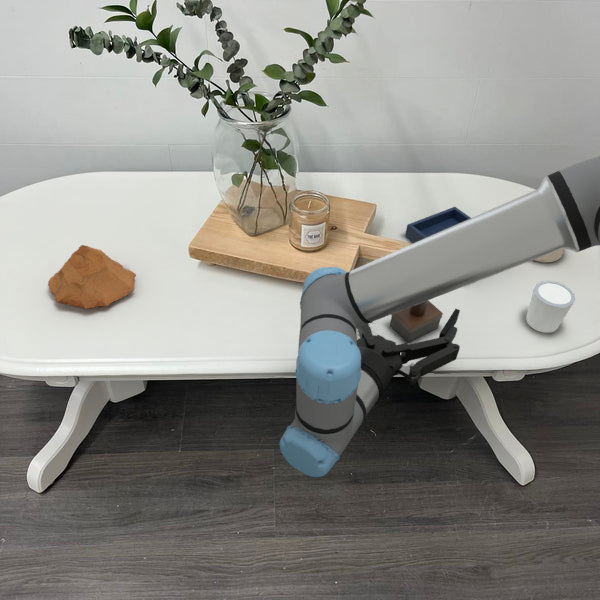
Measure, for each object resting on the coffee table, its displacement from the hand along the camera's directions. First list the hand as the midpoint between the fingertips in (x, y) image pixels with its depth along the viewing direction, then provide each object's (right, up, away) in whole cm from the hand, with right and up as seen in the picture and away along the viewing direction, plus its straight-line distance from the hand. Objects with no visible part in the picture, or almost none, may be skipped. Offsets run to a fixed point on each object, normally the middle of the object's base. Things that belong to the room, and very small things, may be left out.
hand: (417, 299), depth 96 cm
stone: (-58, +2, +12) cm, 59 cm away
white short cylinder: (+24, -4, +8) cm, 26 cm away
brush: (+1, -5, +6) cm, 8 cm away
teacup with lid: (+29, +11, +24) cm, 40 cm away
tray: (+13, +11, +24) cm, 29 cm away
